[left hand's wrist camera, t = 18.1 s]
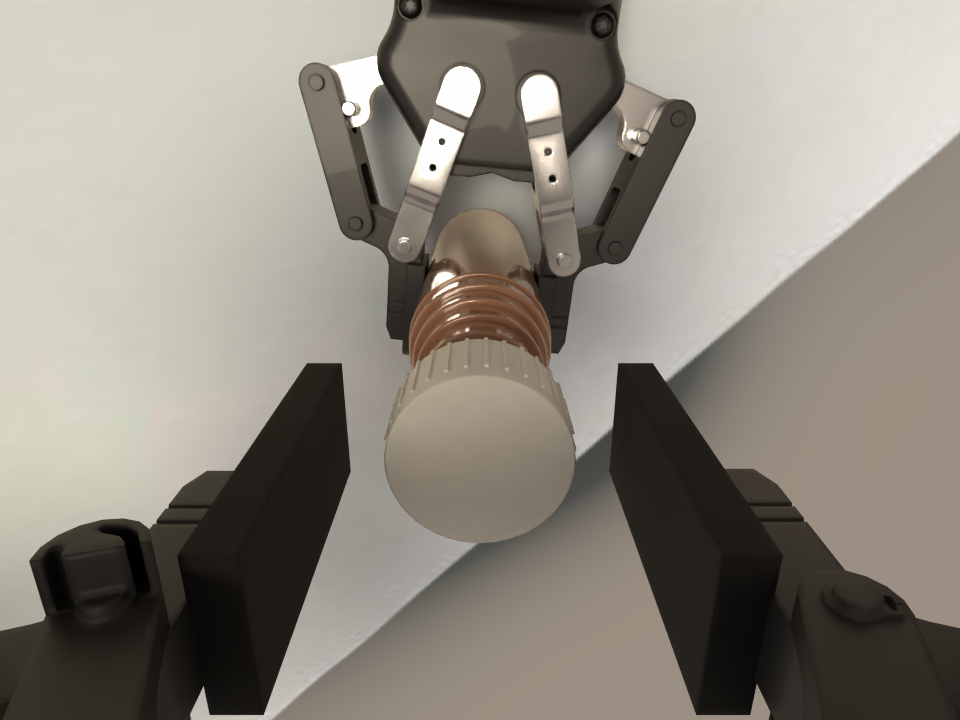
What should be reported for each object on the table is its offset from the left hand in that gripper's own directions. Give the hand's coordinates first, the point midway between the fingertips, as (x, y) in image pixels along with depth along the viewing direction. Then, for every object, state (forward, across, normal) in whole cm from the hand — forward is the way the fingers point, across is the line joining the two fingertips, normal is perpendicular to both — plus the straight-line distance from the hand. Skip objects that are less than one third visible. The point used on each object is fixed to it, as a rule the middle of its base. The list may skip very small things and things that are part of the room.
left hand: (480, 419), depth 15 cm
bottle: (+18, 0, 0) cm, 18 cm away
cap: (-2, 0, 0) cm, 2 cm away
